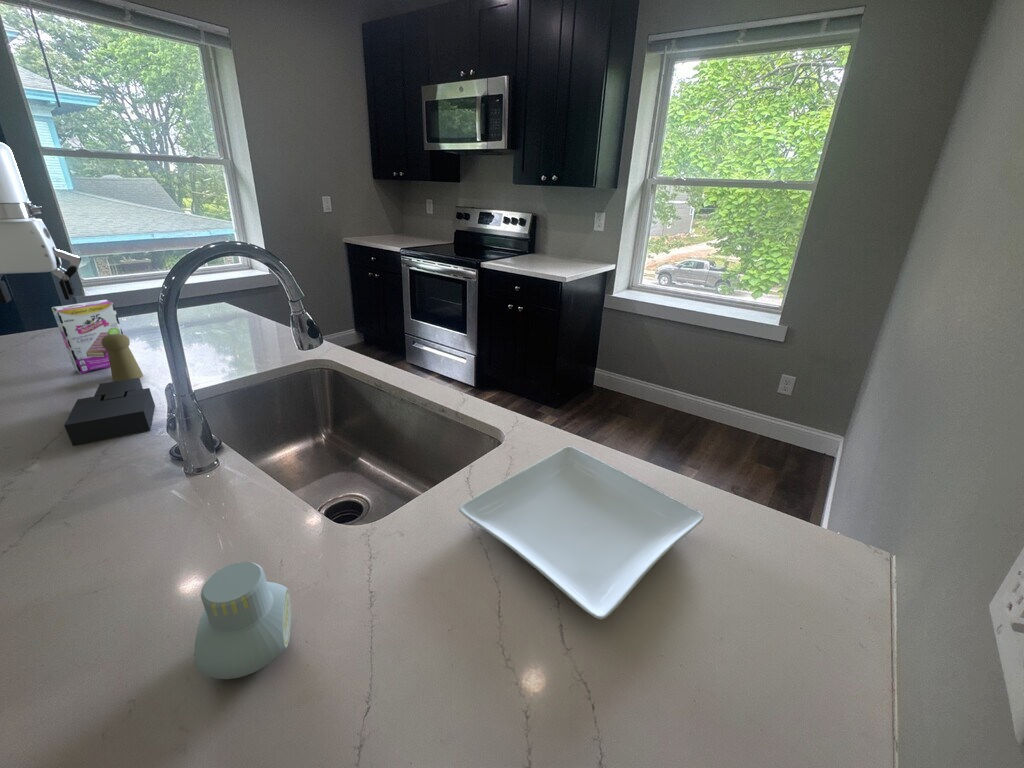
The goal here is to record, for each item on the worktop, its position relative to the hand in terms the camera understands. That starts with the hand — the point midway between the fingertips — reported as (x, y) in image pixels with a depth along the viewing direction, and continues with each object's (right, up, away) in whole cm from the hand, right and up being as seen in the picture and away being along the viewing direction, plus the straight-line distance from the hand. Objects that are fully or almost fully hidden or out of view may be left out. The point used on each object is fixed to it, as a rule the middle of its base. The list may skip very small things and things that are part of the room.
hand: (38, 300), depth 96 cm
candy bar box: (-9, -13, +25) cm, 30 cm away
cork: (+2, -16, +20) cm, 25 cm away
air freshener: (+68, -47, -43) cm, 93 cm away
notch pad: (+17, -26, -1) cm, 31 cm away
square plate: (+108, -40, -24) cm, 118 cm away
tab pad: (+13, -22, +6) cm, 26 cm away
